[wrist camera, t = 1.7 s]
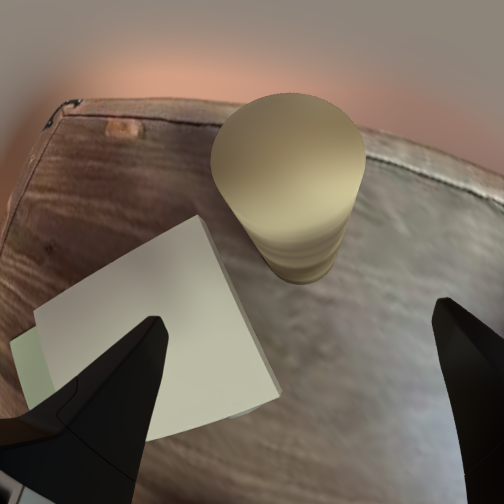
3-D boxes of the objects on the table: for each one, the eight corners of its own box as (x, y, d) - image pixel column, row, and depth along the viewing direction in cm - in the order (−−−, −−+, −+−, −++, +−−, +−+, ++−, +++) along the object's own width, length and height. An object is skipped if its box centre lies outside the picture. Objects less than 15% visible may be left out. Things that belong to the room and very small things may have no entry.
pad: (87, 404, 22) (84, 405, 22) (36, 419, 22) (33, 420, 22) (58, 314, 24) (55, 314, 24) (13, 342, 25) (9, 342, 24)
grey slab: (288, 390, 20) (283, 404, 16) (112, 447, 21) (84, 460, 17) (213, 227, 24) (194, 208, 20) (62, 310, 24) (32, 305, 21)
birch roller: (348, 264, 21) (395, 180, 9) (284, 297, 21) (248, 254, 9) (315, 204, 23) (314, 76, 10) (254, 234, 23) (190, 131, 10)
